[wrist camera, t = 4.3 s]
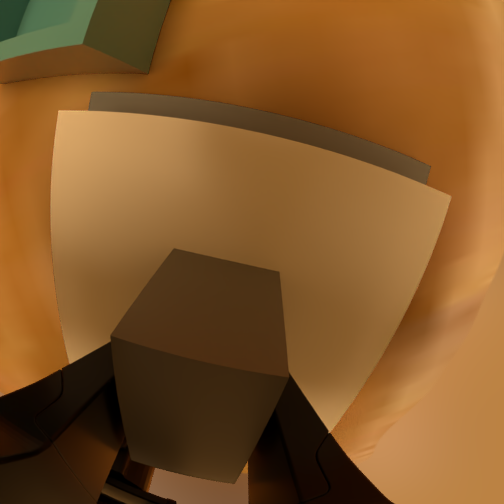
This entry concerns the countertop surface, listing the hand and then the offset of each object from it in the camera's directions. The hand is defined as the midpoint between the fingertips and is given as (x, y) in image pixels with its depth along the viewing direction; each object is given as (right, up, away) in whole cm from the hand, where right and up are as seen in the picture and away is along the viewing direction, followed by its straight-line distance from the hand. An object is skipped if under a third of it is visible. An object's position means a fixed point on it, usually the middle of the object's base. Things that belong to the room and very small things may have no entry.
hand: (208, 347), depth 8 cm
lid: (0, +1, +2) cm, 2 cm away
